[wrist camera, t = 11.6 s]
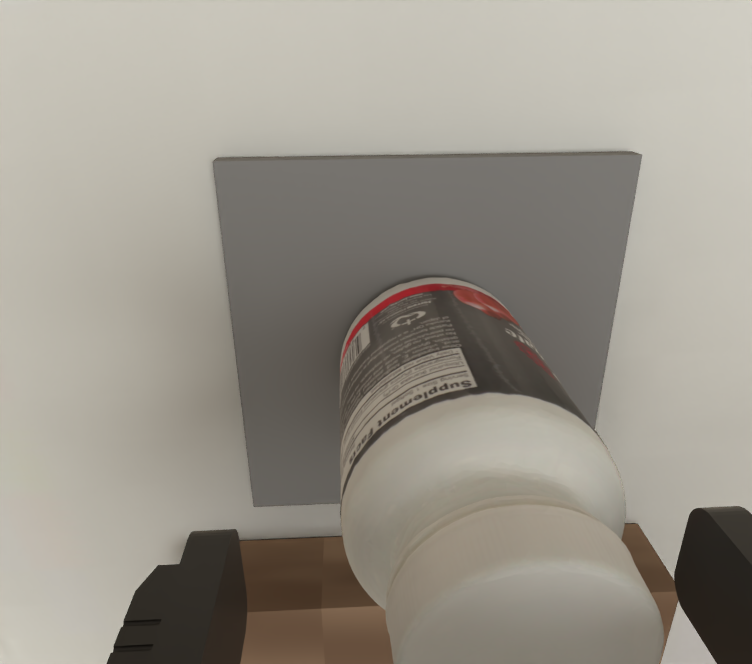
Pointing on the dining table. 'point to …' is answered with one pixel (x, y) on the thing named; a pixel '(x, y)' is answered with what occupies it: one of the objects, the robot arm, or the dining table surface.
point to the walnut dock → (355, 602)
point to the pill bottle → (481, 492)
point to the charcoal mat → (406, 276)
